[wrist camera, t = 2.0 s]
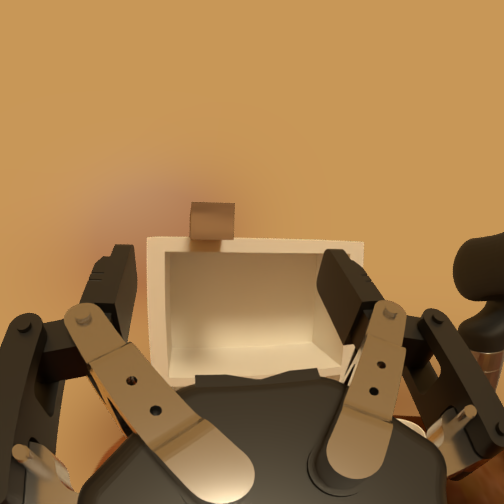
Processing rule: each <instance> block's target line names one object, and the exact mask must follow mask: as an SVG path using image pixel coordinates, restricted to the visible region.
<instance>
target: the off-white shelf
mask: <svg viewBox="0 0 504 504" xmlns="http://www.w3.org/2000/svg"><path fill="white" fill-rule="evenodd" d="M326 249H343V250H344V251H345V252H346V253H347V255H348V256H349V258H350V259H351V260H354V261H355V262H356V263H358V264H359V265H360V266H361V267H362V268H363V255H364V242H353V241H335V240H307V239H269V238H267V239H266V238H265V239H264V238H234V240H199V239H190V237H148V238H147V301H148V325H149V342H150V356H151V365H152V366H153V367H154V368H155V370H156V371H157V372H158V373H159V374H160V375H161V376H162V378H163V379H164V380H165V381H166V382H167V383H168V384H169V385H170V386H171V388H172V389H173V390H174V391H176V390H178V389H181V388H183V387H186V386H188V385H192V384H195V375H221V374H227V375H233V376H239V377H245V378H252V379H264V378H267V377H270V376H274V375H277V374H280V373H283V372H286V371H290V370H301V369H310V368H317V369H318V372H319V375H320V376H321V377H326V378H330V379H334V380H337V381H339V382H341V380H342V378H343V376H344V373H345V370H346V368H347V365H348V363H349V360H350V358H351V355H352V352H353V350H354V348H355V346H354V344H352V345H343V344H342V342H341V340H340V338H339V335H338V333H337V331H336V329H335V327H334V325H333V323H332V321H331V318H330V316H329V314H328V312H327V310H326V308H325V306H324V304H323V302H322V300H321V297H320V295H319V293H318V291H317V286H316V281H317V276H318V272H319V269H320V265H321V261H322V258H323V254H324V251H325V250H326Z"/></svg>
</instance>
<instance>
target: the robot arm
mask: <svg viewBox="0 0 504 504" xmlns="http://www.w3.org/2000/svg"><path fill="white" fill-rule="evenodd" d="M453 278H454V282H455V285H456V288H457V289H458V291H459V293H460V294H461V295H462V296H463V297H465V298H466V299H468V300H472V301H487V302H486V305H485V307H484V308H483V309H482V310H481V311H480V312H479V313H478V314H476V315H475V316H473V317H471V318H469V319H467V320H465V321H463V322H462V323H461V324H460V326H459V328H458V331H457V330H456V328H455V327H454V325H453V324H452V322H451V321H450V320H449V318H448V317H447V316H446V315H445V314H444V313H443V312H441V311H439V310H437V309H432V308H430V309H426V310H425V311H424V312H423V314H422V316H421V318H419V317H414V316H408V315H406V312H405V311H404V309H403V308H402V307H401V306H400V305H398V304H396V303H394V302H392V301H388V300H385V299H384V298H383V296H382V295H381V294H380V292H379V291H378V289H377V288H376V286H375V285H374V283H373V282H371V279H370V278H369V276H367V273H366V272H365V271H364V269H363V268H362V267H361V266H360V265H359V264H358V263H356V262H355V261H354V260H351V259H350V258H349V256H348V255H347V253H346V252H345V251H344V250H343V249H326V250H325V251H324V254H323V258H322V261H321V265H320V269H319V272H318V276H317V281H316V286H317V291H318V293H319V295H320V297H321V300H322V302H323V304H324V306H325V308H326V310H327V312H328V314H329V316H330V318H331V321H332V323H333V325H334V327H335V329H336V331H337V333H338V335H339V338H340V340H341V342H342V344H343V345H352V344H354V346H355V348H354V350H353V352H352V355H351V358H350V360H349V363H348V365H347V368H346V370H345V373H344V376H343V378H342V380H341V382H339V381H337V380H334V379H330V378H326V377H321V376H320V375H319V372H318V369H317V368H310V369H301V370H290V371H286V372H283V373H280V374H277V375H274V376H270V377H267V378H264V379H252V378H245V377H239V376H233V375H227V374H221V375H195V384H192V385H188V386H186V387H183V388H181V389H178V390H176V391H174V390H173V389H172V388H171V386H170V385H169V384H168V383H167V382H166V381H165V380H164V379H163V378H162V376H161V375H160V374H159V373H158V372H157V371H156V370H155V368H154V367H153V366H152V365H151V364H150V363H149V361H148V360H147V359H146V358H145V357H144V355H143V354H142V353H141V352H140V351H139V350H138V348H137V347H136V346H135V345H134V344H133V343H132V342H128V343H127V341H128V335H129V328H130V323H131V317H132V312H133V307H134V302H135V297H136V292H137V272H136V262H135V253H134V246H133V245H117V244H116V245H115V246H114V248H113V251H112V254H111V256H110V257H105V256H103V257H102V258H101V259H100V260H98V261H97V262H96V263H95V265H94V267H93V270H92V274H91V275H90V277H89V281H88V282H87V284H86V287H85V290H84V292H83V295H82V297H81V300H80V303H79V304H77V305H75V306H73V307H71V308H70V309H69V310H68V311H67V313H66V314H65V316H64V319H62V320H58V321H53V322H47V323H43V322H42V320H41V318H40V317H39V316H38V315H36V314H34V313H25V314H22V315H19V316H18V317H16V318H15V319H14V320H13V321H12V322H11V323H10V325H9V327H8V330H7V332H6V334H5V337H4V339H3V342H2V344H1V347H0V504H447V497H446V480H448V479H450V480H453V481H458V480H461V479H463V478H464V477H466V476H467V475H469V474H470V473H472V472H473V471H475V470H476V469H478V468H479V467H481V466H482V465H483V464H485V463H486V462H488V461H489V460H490V459H492V458H493V457H494V456H496V455H497V454H498V453H500V452H501V451H502V450H504V407H503V405H502V403H501V401H500V400H499V398H498V396H497V394H496V393H495V391H496V388H497V385H498V381H499V378H500V374H501V370H502V366H503V362H504V232H503V233H500V234H497V235H493V236H487V237H481V238H473V239H470V240H468V241H466V242H465V243H464V244H463V245H462V246H461V247H460V249H459V250H458V253H457V255H456V257H455V260H454V264H453ZM433 354H434V355H435V357H436V359H437V361H438V362H439V364H440V366H441V374H440V376H439V378H438V376H437V374H436V373H435V371H434V369H433V367H432V365H431V363H430V361H429V360H430V359H431V357H432V356H433ZM83 376H86V377H87V378H88V380H89V382H90V383H91V385H92V386H93V388H94V390H95V391H96V393H97V395H98V396H99V398H100V399H101V401H102V402H103V404H104V405H105V407H106V408H107V410H108V411H109V413H110V414H111V416H112V418H113V419H114V421H115V422H116V424H117V426H118V427H119V429H120V430H121V432H122V433H123V434H124V436H125V437H126V438H127V439H126V440H125V441H124V442H123V443H122V444H121V446H120V447H119V448H118V449H117V450H116V451H115V452H114V453H113V454H112V455H111V456H110V457H109V458H108V459H107V460H106V461H105V462H104V463H103V464H102V465H101V467H100V468H99V469H98V470H97V471H96V472H95V473H94V474H93V475H92V476H91V477H90V478H89V479H88V480H87V481H86V482H85V484H84V485H83V487H82V488H81V490H80V493H76V492H74V490H73V488H72V487H71V484H70V478H69V473H68V471H67V468H66V467H65V465H64V464H63V463H62V462H61V461H60V460H59V459H58V458H57V457H56V456H55V453H56V442H57V432H58V424H59V416H60V409H61V403H62V396H63V390H64V385H65V380H67V379H72V378H78V377H83ZM401 376H403V378H404V380H405V382H406V384H407V387H408V389H409V391H410V393H411V396H412V398H413V400H414V402H415V404H416V407H417V409H418V411H419V414H420V416H421V418H422V421H423V423H424V425H425V428H426V430H427V434H426V438H425V437H423V436H422V435H420V434H419V433H417V432H416V431H414V430H413V429H411V428H409V427H408V426H406V425H405V424H403V423H402V422H400V421H399V420H397V419H396V418H394V417H393V412H394V408H395V403H396V399H397V395H398V390H399V386H400V381H401Z"/></svg>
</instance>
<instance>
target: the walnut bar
mask: <svg viewBox="0 0 504 504" xmlns="http://www.w3.org/2000/svg"><path fill="white" fill-rule="evenodd" d="M234 209H235V203H207V202H206V203H205V202H192V204H191V212H190V236H189V237H190V239H199V240H234Z"/></svg>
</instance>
